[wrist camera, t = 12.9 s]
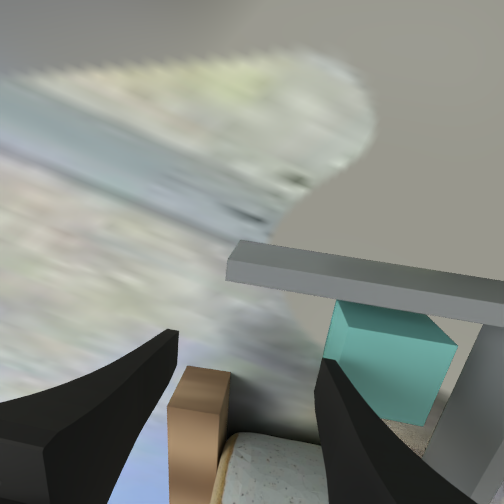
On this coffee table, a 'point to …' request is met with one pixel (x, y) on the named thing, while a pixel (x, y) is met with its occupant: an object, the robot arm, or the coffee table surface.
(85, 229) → the coffee table surface
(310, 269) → the frame
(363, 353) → the turquoise cube box
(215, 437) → the brown wooden block
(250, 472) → the ceramic mug
